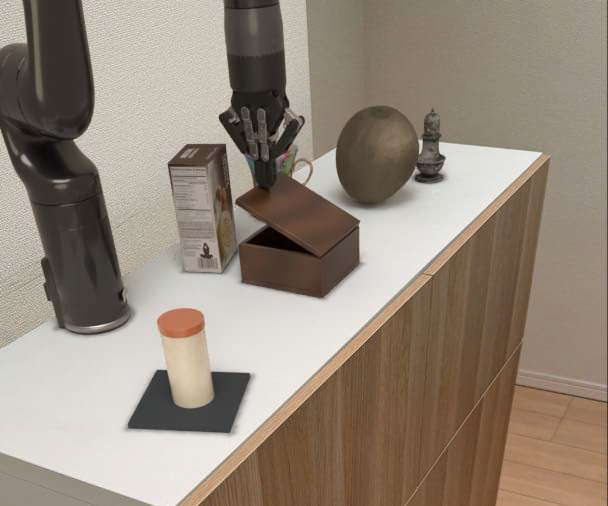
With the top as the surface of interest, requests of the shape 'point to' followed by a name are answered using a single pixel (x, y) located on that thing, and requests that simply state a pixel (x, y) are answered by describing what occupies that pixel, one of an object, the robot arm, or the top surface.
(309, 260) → the chest
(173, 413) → the mat
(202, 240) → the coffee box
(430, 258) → the top surface
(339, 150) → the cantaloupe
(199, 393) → the canister
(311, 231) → the lid
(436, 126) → the salt shaker
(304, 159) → the mug
